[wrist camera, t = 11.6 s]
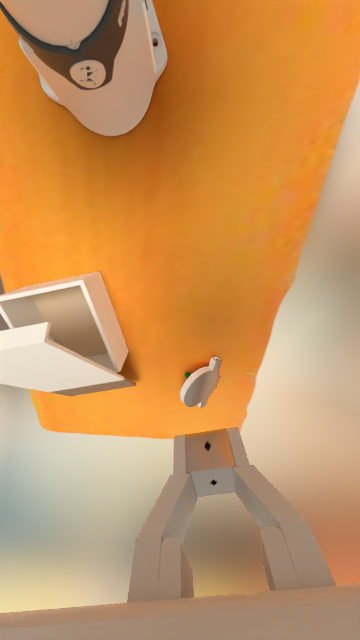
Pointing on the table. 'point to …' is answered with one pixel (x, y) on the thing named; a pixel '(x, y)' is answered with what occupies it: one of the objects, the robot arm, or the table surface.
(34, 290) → the box
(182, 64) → the table surface
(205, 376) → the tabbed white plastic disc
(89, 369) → the lid
